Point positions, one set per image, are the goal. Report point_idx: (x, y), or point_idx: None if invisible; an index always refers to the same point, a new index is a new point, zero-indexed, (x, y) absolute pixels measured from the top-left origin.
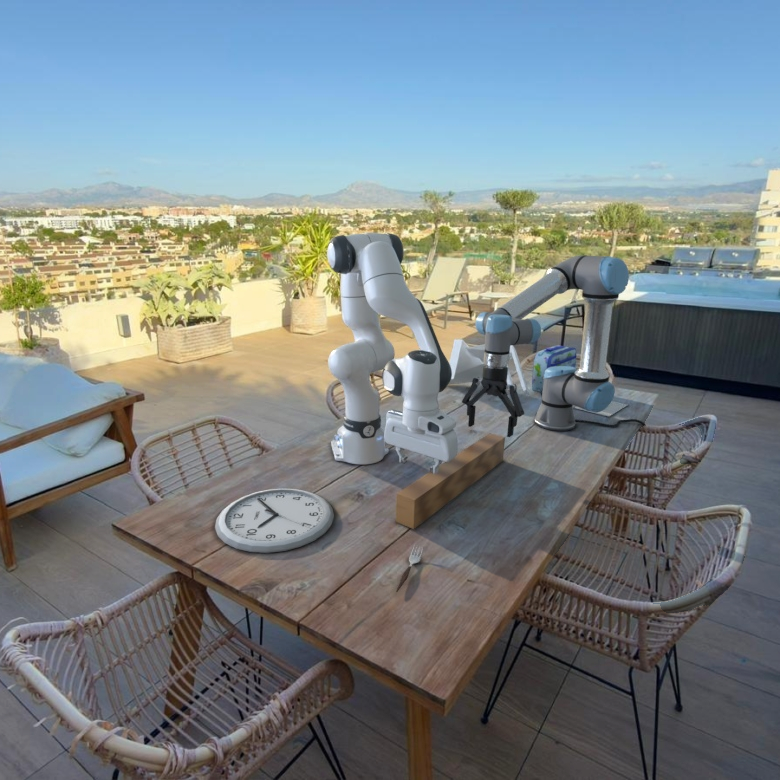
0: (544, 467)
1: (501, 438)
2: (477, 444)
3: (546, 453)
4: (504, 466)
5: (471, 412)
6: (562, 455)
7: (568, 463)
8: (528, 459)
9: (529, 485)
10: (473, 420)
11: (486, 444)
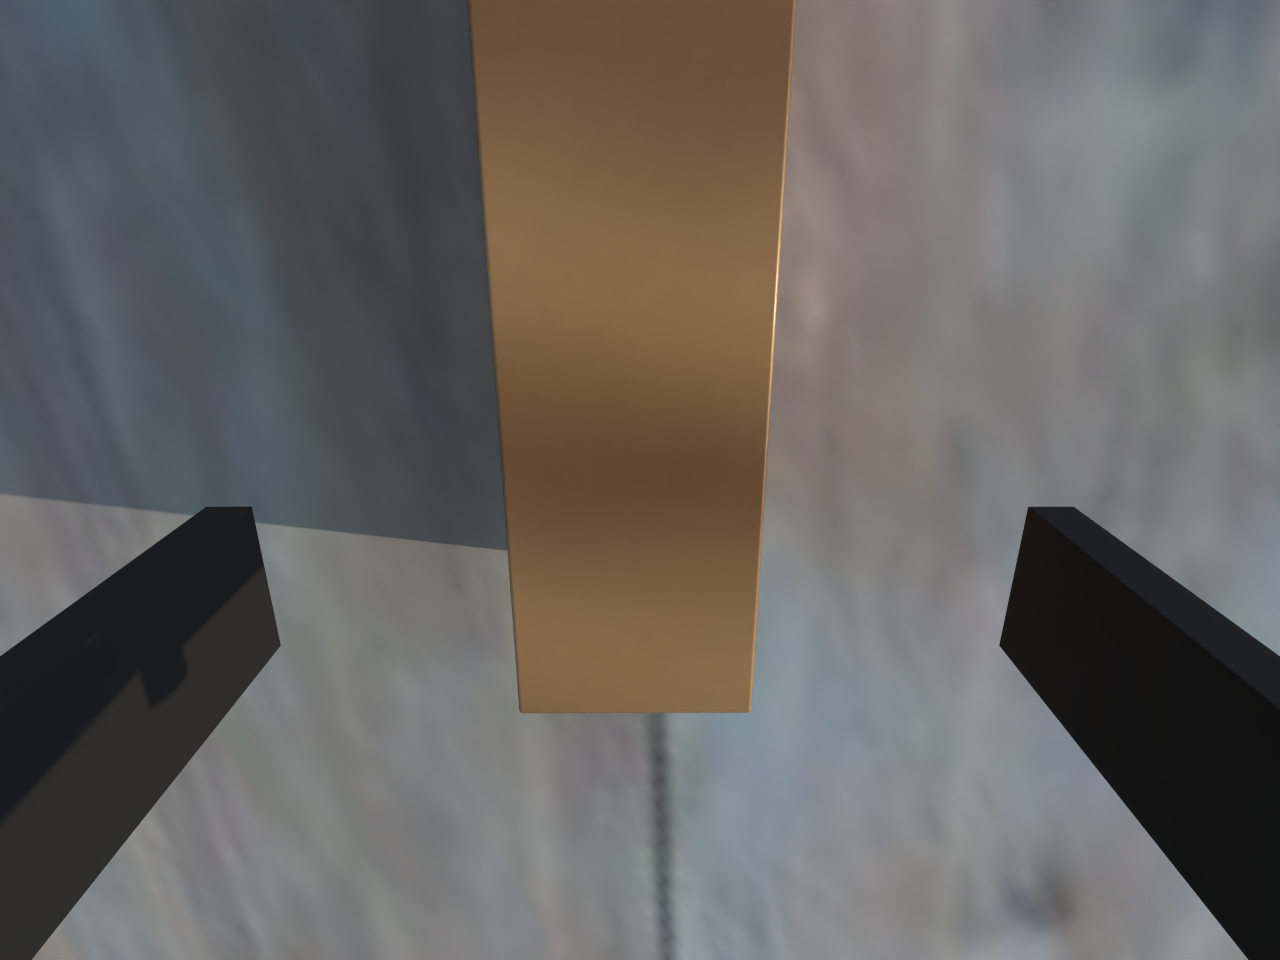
0: None
1: (535, 652)
2: (710, 229)
3: (352, 873)
4: (482, 453)
5: (1257, 707)
6: (244, 905)
7: None
8: (398, 704)
9: (69, 217)
10: (1057, 667)
11: (594, 325)
